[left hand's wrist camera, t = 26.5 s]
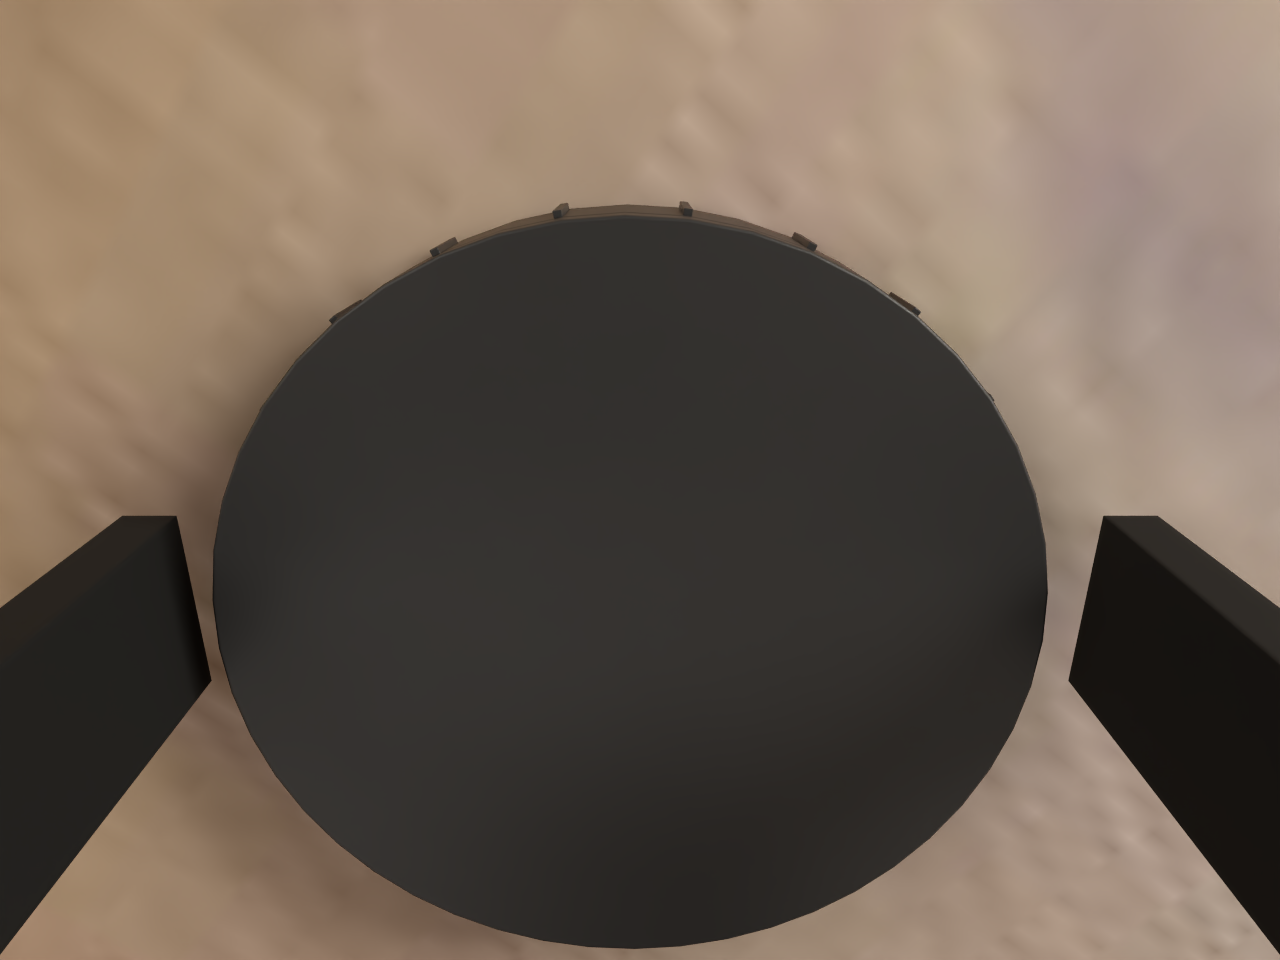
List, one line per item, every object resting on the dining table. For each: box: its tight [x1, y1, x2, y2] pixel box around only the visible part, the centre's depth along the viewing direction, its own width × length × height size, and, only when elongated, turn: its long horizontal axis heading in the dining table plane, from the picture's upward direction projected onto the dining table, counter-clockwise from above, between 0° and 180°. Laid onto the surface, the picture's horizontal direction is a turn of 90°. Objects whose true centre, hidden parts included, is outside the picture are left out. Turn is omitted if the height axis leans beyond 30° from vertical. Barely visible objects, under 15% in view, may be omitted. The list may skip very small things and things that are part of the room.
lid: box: [213, 201, 1048, 949], centre depth 13 cm, size 12×12×2 cm
